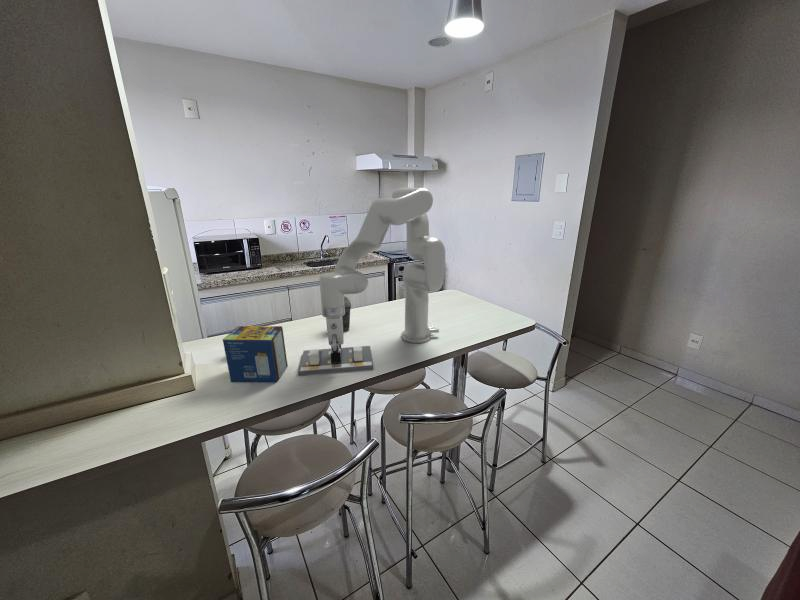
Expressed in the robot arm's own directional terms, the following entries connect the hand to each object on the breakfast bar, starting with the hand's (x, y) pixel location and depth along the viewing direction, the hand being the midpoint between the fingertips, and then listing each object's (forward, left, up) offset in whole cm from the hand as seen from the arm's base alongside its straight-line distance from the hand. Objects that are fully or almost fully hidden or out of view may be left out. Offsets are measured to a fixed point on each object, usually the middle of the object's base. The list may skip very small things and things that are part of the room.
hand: (336, 355), depth 114 cm
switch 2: (-8, 0, -2) cm, 8 cm away
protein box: (+25, +2, -4) cm, 26 cm away
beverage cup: (-3, -30, -4) cm, 30 cm away
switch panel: (0, -3, -4) cm, 5 cm away
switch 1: (+7, 0, -2) cm, 8 cm away
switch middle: (0, 0, -2) cm, 2 cm away
